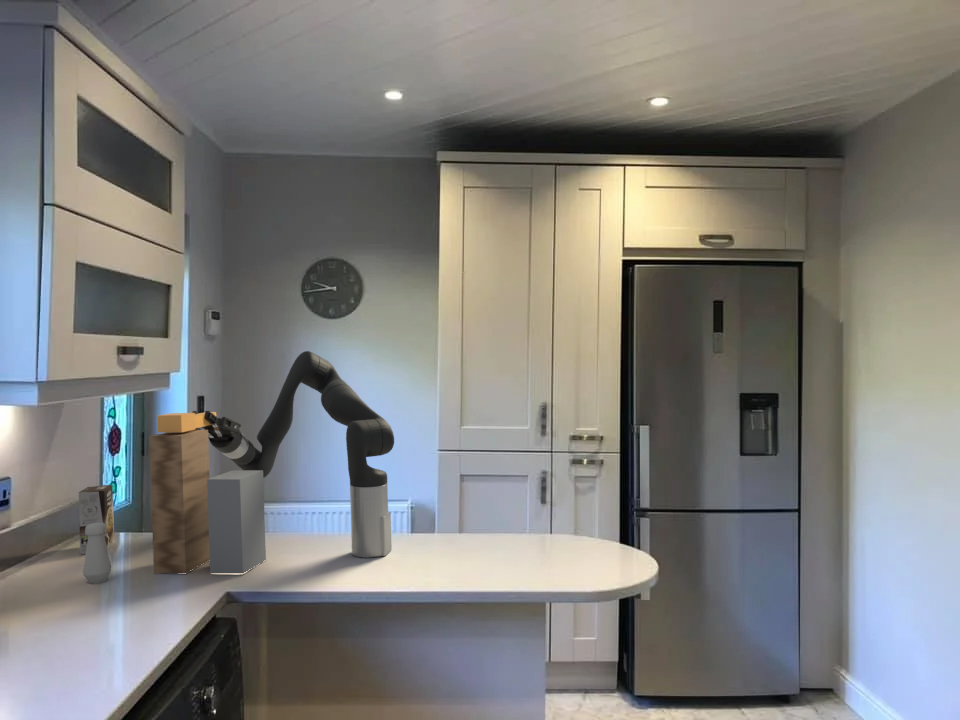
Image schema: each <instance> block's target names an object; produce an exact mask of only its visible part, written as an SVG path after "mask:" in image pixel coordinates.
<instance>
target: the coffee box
mask: <svg viewBox="0 0 960 720" xmlns="http://www.w3.org/2000/svg"><path fill="white" fill-rule="evenodd" d="M113 494H114V491H113V484H107V485H95V486H86V487H85V488H84V489H82V490H80V491H79V492H78V518H79V520H78V521H79V526H78V527H79V554H80V555H86V549H87V542H88V535H86V534H85V528H86V526H87V525H89V524H92V523H104V524H106V533H104V537H105V542H106V546H107V550H110V549H111V548H112V546H114V545H115V526H114V525H115V524H114V523H115V521H114V497H113ZM113 544H114V545H113Z"/></svg>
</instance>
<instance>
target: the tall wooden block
mask: <svg viewBox="0 0 960 720" xmlns="http://www.w3.org/2000/svg"><path fill="white" fill-rule="evenodd" d="M148 439H149V466H150V468H149V469H150V473H149V474H150V496H151V497H150V498H151V500H150V501H151V527H152V529H151V530H152V531H151V532H152V557H153V560H152V561H153V574H154V573H187V572H189V571H190V570H192V569H194V568H196V567H197V566H200V565H201V564H203V563H205V562H207V561H208V562H210V561H209V560H210V555H209V524H208V493H207V479H209V478H211V477H210V475H211V474H210V448H209V447H210V445H209V444H210V442H209V438H208V430H190V431H186V432H173V433H156V434H153V435H149V436H148ZM208 562H207V563H208ZM205 564H206V563H205ZM203 565H204V564H203ZM201 566H202V565H201ZM201 566H200V567H201ZM196 569H197V568H196ZM194 570H195V569H194ZM189 573H190V572H189ZM187 574H188V573H187Z"/></svg>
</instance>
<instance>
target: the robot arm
mask: <svg viewBox="0 0 960 720" xmlns="http://www.w3.org/2000/svg"><path fill="white" fill-rule="evenodd" d="M301 384H303V385H305V386H307V387H309V388H311V389H313V390H315V391H317V392H318V393H319V394H320V395H321V396H320V403H321V406H322V407H323V409H324V410H325V412H326V413H327V414H328V416H329V417H330V418H331V419H332V420H334V421H335V422H337V423H338V424H340V425H343V426H345V427H347V428H346V433H345V442H346V454H347V468H348V469H347V470H348V476H349V477H348V478H349V493H350V496H349V498H350V528H351V529H350V530H351V536H350V537H351V538H350V539H351V554H352V556H354V557H358V558H376V557H386V556H387V555H388V554H389V553H390V552H391V551H392V549H393V548H392V519H391V518H392V515H391V512H389V501H388V499H389V498H388V494H389V491H388V489H389V488H388V474H387V472H386V471H384V470H381V469H379V468H374V467H372V466H370V465H368V460H367V458H370V457H371V458H372V457H379V456H384V455H386V454H388V453H390V452H391V451H392V450H393V448H394V445H395V435H394V432H393V429H392V426H391V424H389V423H388V421H387V420H386V419H385V418H384V417H382V416H381V415H379V413H377V412H376V411H375V410H374V409H372V408H370V407H369V405H368V404H366V403H365V401H363V399H361V397H360V396H359V395H358V394H357V392H356V391H355V390H354V389H353V388H352V387H351V386H350V385H349V384H347V382H346V381H345V380H343V379H342V378H341V376H340V374H338V372H337V370H336V368H335V367H334V365H333V364H332V363H331V362H330V361H328V360H326V359H325V358H323V357H322V356H320V355H318V354H316V353H314V352H311V351H310V350H306V351H305V350H304V351H303V352H301V353H300V354H299V355H298V356H297V357H296V358H295V360H294V362H293V363H292V365H291V367H290V369H289V370H288V374H287V376H286V378H285V381H284V383H283V385H282V388H281V389H280V392H279V395H278V397H277V399H276V400H275V401H276V402H275V403H274V406H273V408H272V410H271V412H270V413H269V415H268V417H267V419H266V420H265V421H264V423H263V425H262V426H261V428H260V429H259V431H258V433H257V434H256V440H257V441H258V443H259V444H260V446H261V451H260V450H259V449H257V448H256V447H255V445H254V444H253V442H251V441H250V440H249V439H248V438H247V436H246V435H245V434H244V433H243V432H242V431H241V428H242V424H240V423H239V422H236V421H234V420H232V419H230V418H228V417H225V416H222V417H219V416H218V415H216V416H215V415H214V414H213V413H211V412H212V411H210V410H205V417H204V418H205V419H206V420H207V421H208V422H209V423H210V424H213V425H208V426H204V427H199V428H195V430H208V442H209V444H211V445H212V447H214V448H215V449H216V450H217V451H219V453H221V454H222V455H223V456H225V457H228V459H229V460H230V461H232V462H233V463H234V464H235V465H236V466H237V467H239V468H240V469H241V470H263V479H264V478H266V477H267V476H268V475H269V474H270V473H271V471H272V470H273V467H274V465H275V461H276V458H277V455H278V453H279V448H280V445H281V444H282V442H283V441H284V439H285V438H286V435H288V432H289V430H291V429H290V428H291V426H292V424H293V419H294V401H295V395H296V391H297V389H298V387H299V385H301ZM191 413H195V414H199V412H198V411H197V410H192V412H191Z"/></svg>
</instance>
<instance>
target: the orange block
mask: <svg viewBox="0 0 960 720" xmlns="http://www.w3.org/2000/svg"><path fill="white" fill-rule="evenodd" d="M210 412H211V413H213V414H214V415H215V416H217V412H216V411H210ZM198 413H199V412H198ZM156 416H157V417H156V418H157V434H162V433H173V432H186V431H190V430H195V428H199V427H204V426H208V425H213V424H210V423H209V422H208V421H207V420H206V419H205V418H204V417H205V412H200V413H199V414H195V413H192V412H171V413H170V412H169V413H164V414H158V415H156Z"/></svg>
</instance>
